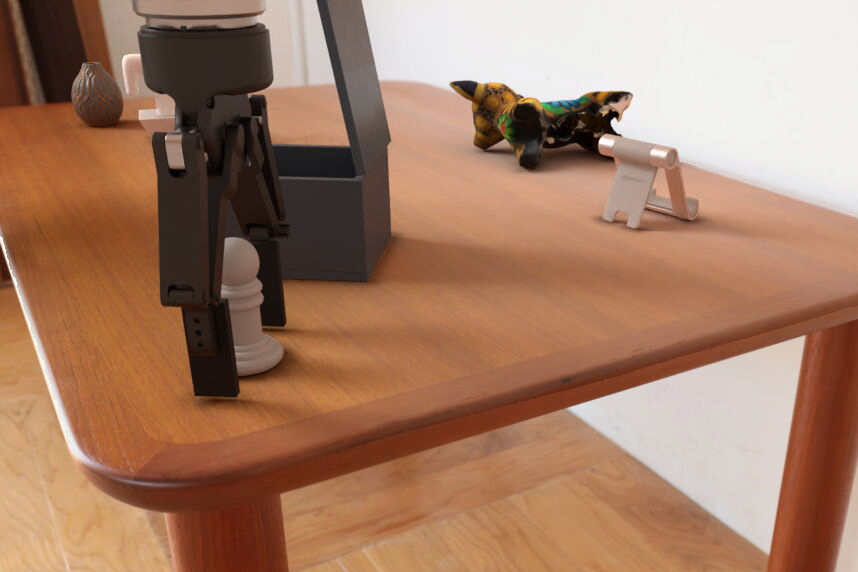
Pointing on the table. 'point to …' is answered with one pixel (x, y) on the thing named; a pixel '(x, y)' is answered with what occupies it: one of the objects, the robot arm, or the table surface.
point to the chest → (328, 213)
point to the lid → (355, 80)
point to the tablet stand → (644, 180)
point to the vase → (96, 96)
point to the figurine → (165, 105)
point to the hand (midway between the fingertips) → (244, 356)
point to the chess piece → (247, 309)
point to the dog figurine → (540, 119)
